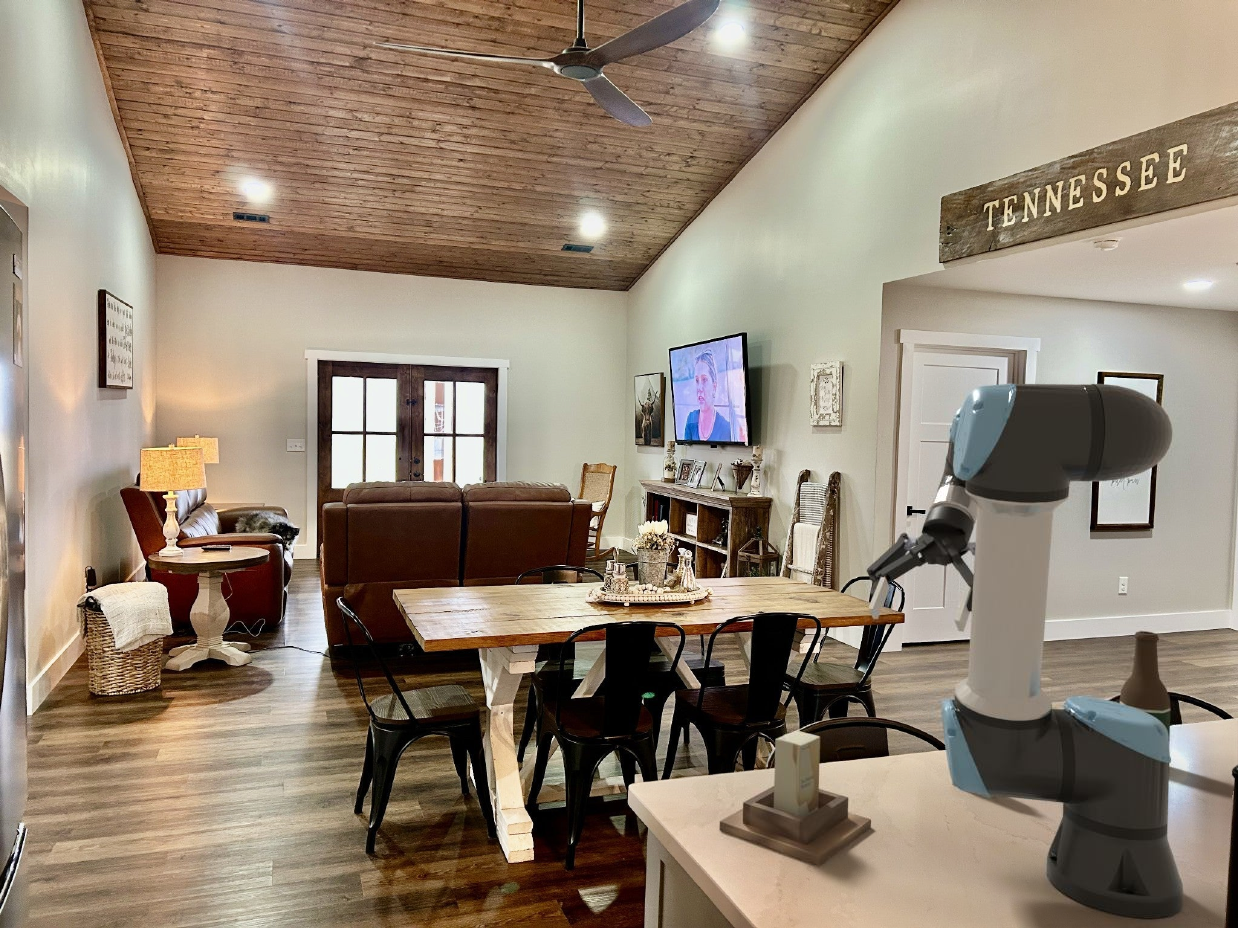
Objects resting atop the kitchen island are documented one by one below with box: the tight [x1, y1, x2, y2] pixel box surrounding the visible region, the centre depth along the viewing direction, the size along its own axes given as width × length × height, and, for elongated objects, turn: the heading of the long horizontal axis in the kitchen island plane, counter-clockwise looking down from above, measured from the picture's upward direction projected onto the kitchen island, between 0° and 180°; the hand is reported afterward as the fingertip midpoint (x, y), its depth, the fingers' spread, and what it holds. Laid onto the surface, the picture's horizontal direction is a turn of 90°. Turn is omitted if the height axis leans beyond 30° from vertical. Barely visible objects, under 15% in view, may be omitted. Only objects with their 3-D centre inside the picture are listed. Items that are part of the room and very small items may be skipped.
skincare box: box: [773, 730, 821, 818], centre depth 126 cm, size 6×4×12 cm
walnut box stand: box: [719, 785, 872, 866], centre depth 126 cm, size 16×16×4 cm
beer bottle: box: [1119, 630, 1171, 743], centre depth 154 cm, size 8×8×24 cm
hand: (914, 619), depth 133 cm, fingers open, 13 cm apart
